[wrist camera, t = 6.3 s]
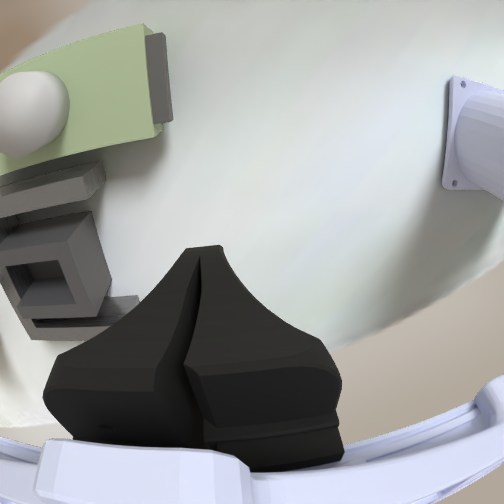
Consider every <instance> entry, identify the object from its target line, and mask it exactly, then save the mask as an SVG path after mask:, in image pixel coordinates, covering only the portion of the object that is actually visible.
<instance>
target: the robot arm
mask: <svg viewBox="0 0 504 504" xmlns="http://www.w3.org/2000/svg"><path fill="white" fill-rule="evenodd" d="M461 82H462V87H461ZM453 181H454V183H453ZM452 183H453V184H452ZM442 186H443V187H444V188H445V189H447V190H486V191H488V192H489V193H491V194H493V195H494V196H496V197H497V198H499V199H501V200H502V201H504V90H501V89H498V88H496V87H493V86H490V85H487V84H483V83H480V82H477V81H474V80H470V79H467V78H463V77H460V76H452V77H451V78H450V93H449V117H448V132H447V144H446V153H445V162H444V170H443V177H442ZM341 390H342V380H341V377H340V373H339V371H338V368H337V367H336V365H335V363H334V361H333V359H332V357H331V356H330V354H329V352H328V351H327V349H326V347H325V346H324V344H323V343H322V342H321V340H320V339H318V338H316V337H314V336H312V335H310V334H307V333H305V332H303V331H301V330H299V329H297V328H295V327H293V326H291V325H290V324H288V323H286V322H285V321H283V320H282V319H280V318H279V317H278V316H276V315H275V314H274V313H272V312H271V311H270V310H268V309H267V308H266V307H265V306H264V305H262V304H261V303H260V302H259V301H258V300H257V299H256V298H255V297H254V296H253V295H252V294H251V293H250V292H249V291H248V290H247V288H246V287H245V286H244V285H243V284H242V282H241V281H240V280H239V278H238V277H237V276H236V274H235V273H234V271H233V270H232V268H231V266H230V265H229V263H228V261H227V259H226V257H225V254H224V251H223V247H222V246H220V245H214V246H204V247H195V248H186V249H185V250H184V252H183V253H182V254H181V255H180V257H179V258H178V259H177V261H176V262H175V263H174V265H173V266H172V267H171V269H170V270H169V271H168V272H167V274H166V275H165V276H164V277H163V279H162V280H161V281H160V282H159V283H158V284H157V286H156V287H155V288H154V289H153V290H152V291H151V292H150V293H149V294H148V295H147V296H146V297H145V298H144V299H143V300H142V301H141V302H140V303H139V304H138V305H137V306H136V307H134V308H133V309H132V310H131V311H130V312H129V313H127V314H126V315H125V316H123V317H122V318H121V319H119V320H118V321H117V322H115V323H114V324H113V325H111V326H110V327H109V328H107V329H106V330H104V331H102V332H101V333H99V334H98V335H96V336H94V337H93V338H91V339H89V340H88V341H86V342H84V343H82V344H80V345H78V346H76V347H74V348H72V349H70V350H68V351H66V352H64V353H62V354H60V355H58V356H57V358H56V360H55V363H54V365H53V368H52V370H51V373H50V375H49V378H48V381H47V383H46V386H45V389H44V391H43V400H44V403H45V405H46V407H47V409H48V410H49V411H50V413H51V414H52V415H53V416H54V417H55V418H56V419H57V420H58V422H59V423H60V424H61V425H62V426H63V427H64V428H65V429H66V430H67V431H68V432H69V433H70V434H71V435H72V436H73V440H71V439H49V440H46V442H45V443H44V445H43V446H42V448H41V447H37V446H33V445H29V444H25V443H22V442H18V441H15V440H11V439H8V438H5V437H1V436H0V504H434V503H436V502H438V501H440V500H442V499H444V498H446V497H448V496H450V495H452V494H454V493H455V492H457V491H459V490H461V489H463V488H464V487H466V486H468V485H470V484H472V483H473V482H475V481H477V480H478V479H480V478H482V477H483V476H485V475H486V474H488V473H490V472H491V471H493V470H494V469H496V468H497V467H499V466H500V465H502V464H503V463H504V374H503V375H501V376H499V377H497V378H495V379H493V380H491V381H490V382H488V383H487V384H485V385H484V386H483V387H482V388H481V389H480V391H479V392H478V393H477V395H476V396H475V399H474V400H472V401H470V402H468V403H465V404H463V405H461V406H459V407H456V408H454V409H452V410H450V411H447V412H445V413H443V414H440V415H438V416H435V417H432V418H430V419H427V420H425V421H422V422H419V423H417V424H414V425H411V426H408V427H405V428H402V429H399V430H396V431H393V432H390V433H387V434H383V435H380V436H376V437H373V438H370V439H366V440H362V441H358V442H354V443H350V444H347V445H343V444H342V440H341V437H340V433H339V430H338V426H339V419H338V416H337V413H336V407H337V404H338V400H339V397H340V393H341Z"/></svg>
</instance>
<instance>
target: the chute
mask: <svg viewBox="0 0 504 504" xmlns="http://www.w3.org/2000/svg"><path fill="white" fill-rule="evenodd" d="M20 264H27V265H28V267H29V270H30V272H31V274H32V277H33V279H34V281H33V283H32V284H31V286H30V287H29V288H28V290H27V291H26V293H25V294H24V296H23V297H22V299H21V300H20V302H19V304H18V305H17V309H18V311H19V313H20V315H21V316H22V318H23V319H42V318H75V317H97V314H98V312H99V309H100V307H101V304H102V302H103V299H104V297H105V295H106V292H107V290H108V287H109V285H110V283H111V280H112V278H111V275H110V272H109V269H108V266H107V263H106V260H105V257H104V253H103V250H102V247H101V244H100V240H99V237H98V234H97V230H96V227H95V223H94V220H93V216H92V212H91V211H88V212H82V213H77V214H71V215H66V216H60V217H55V218H50V219H44V220H39V221H34V222H30V223H25V224H20V225H19V226H18V227H17V228H16V229H14V230H13V231H12V232H11V233H10V234H9V235H8V236H7V237H6V238H5V239H4V240H3V241H2V242H1V243H0V267H4V266H12V265H20Z"/></svg>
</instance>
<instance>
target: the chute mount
mask: <svg viewBox="0 0 504 504" xmlns="http://www.w3.org/2000/svg"><path fill="white" fill-rule="evenodd" d="M105 181H106V177H105V172H104V167H103V162H102V161H98V162H94V163H89V164H84V165H80V166H76V167H71V168H67V169H63V170H59V171H55V172H51V173H47V174H44V175H40V176H36V177H33V178H29V179H26V180H22V181H19V182H15V183H12V184H9V185H6V186H3V187H0V243H1V242H2V241H3V240H4V239H5V238H6V237H7V236H8V235H9V234H10V233H11V232H12V231H13V230H14V229H16V228H17V227H18V226H19V223H18V220H17V217H16V214H20V213H24V212H28V211H33V210H37V209H42V208H46V207H51V206H56V205H61V204H66V203H71V202H76V201H81V200H87V199H89V198H90V196H91V195H92V194H93V193H94V192H95V191H96V190H97V189H98V188H99V187H100V186H101V185H102V184H103V183H104V182H105ZM33 281H34V279H33V277H32V274H31V272H30V270H29V267H28V265H27V264H20V265H12V266H4V267H0V283H1V285H2V287H3V289H4V291H5V293H6V295H7V297H8V299H9V301H10V303H11V305H12V307H13V308H14V310H15V312H16V314H17V316H18V318H19V319H20V321H21V323H22V325H23V326H24V328H25V330H26V331H27V333H28V335H29V336H30V338H31V340H89V339H91V338H93V337H94V336H96V335H98V334H99V333H101V332H102V331H104V330H106V329H107V328H109V327H110V326H111V325H113V324H114V323H115V322H117V321H118V320H119V319H121V318H122V317H123V316H125V315H126V314H127V313H129V312H130V311H131V310H132V309H133V308H134V307H136V306H137V305H138V304H139V303H140V301H139V298H138V295H136V296H124V297H111V298H104V299H103V302H102V304H101V307H100V309H99V312H98V314H97V317H75V318H42V319H23V318H22V316H21V315H20V313H19V311H18V309H17V305H18V304H19V302H20V300H21V299H22V297H23V296H24V294H25V293H26V291H27V290H28V288H29V287H30V286H31V284H32V283H33Z"/></svg>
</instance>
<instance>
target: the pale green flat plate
mask: <svg viewBox="0 0 504 504" xmlns="http://www.w3.org/2000/svg"><path fill="white" fill-rule="evenodd" d="M172 120H173V113H172V104H171V94H170V84H169V73H168V62H167V49H166V36H165V35H164V34H163V33H156V34H153V31H152V30H151V29H149V28H148V27H147V26H146V25H144V24H139V25H135V26H130V27H126V28H122V29H118V30H114V31H110V32H107V33H103V34H100V35H96V36H93V37H90V38H87V39H83V40H80V41H77V42H74V43H72V44H69V45H66V46H63V47H60V48H58V49H55V50H53V51H50V52H48V53H45V54H43V55H40V56H38V57H35V58H33V59H31V60H29V61H26V62H24V63H22V64H20V65H18V66H16V67H14V68H11V69H9V70H7V71H5V72H3V73H2V74H0V175H3V174H6V173H9V172H12V171H15V170H18V169H22V168H25V167H28V166H31V165H35V164H38V163H41V162H45V161H48V160H52V159H56V158H59V157H63V156H67V155H71V154H75V153H79V152H83V151H88V150H92V149H96V148H101V147H106V146H110V145H115V144H120V143H125V142H131V141H136V140H142V139H148V138H154V137H155V136H157V135H158V134H159V133H160V132H161V131H162V130H163V127H162V123H165V122H171V121H172Z"/></svg>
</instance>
